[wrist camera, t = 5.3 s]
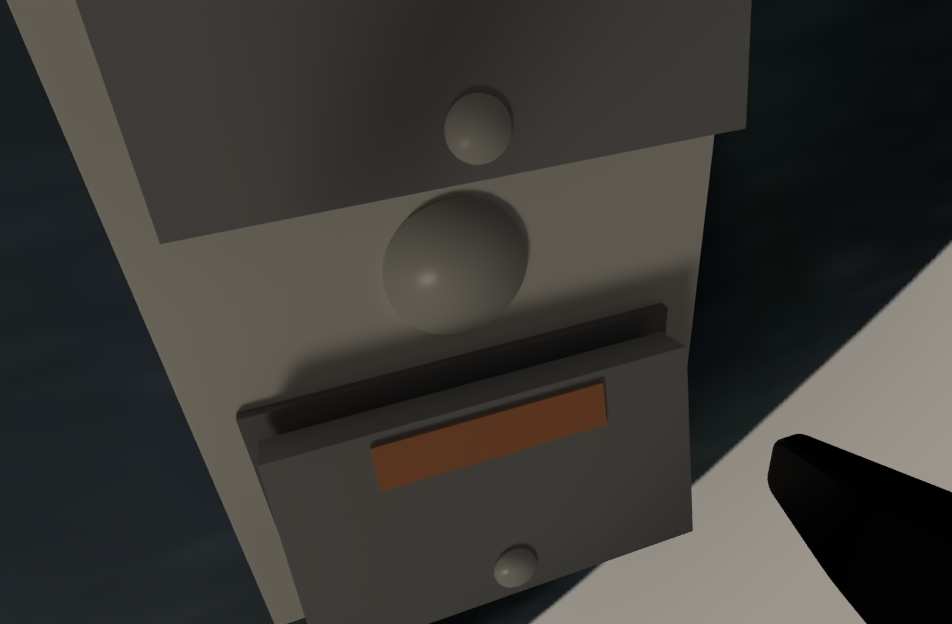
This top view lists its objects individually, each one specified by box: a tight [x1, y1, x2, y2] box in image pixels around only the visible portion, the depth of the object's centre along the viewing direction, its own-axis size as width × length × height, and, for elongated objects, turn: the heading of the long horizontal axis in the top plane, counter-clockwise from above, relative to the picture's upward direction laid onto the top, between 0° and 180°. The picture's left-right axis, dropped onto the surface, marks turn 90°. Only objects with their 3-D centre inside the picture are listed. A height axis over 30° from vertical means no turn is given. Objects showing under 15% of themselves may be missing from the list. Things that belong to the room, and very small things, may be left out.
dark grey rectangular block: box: [257, 332, 693, 624], centre depth 17 cm, size 6×11×1 cm, turn 95°
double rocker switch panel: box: [7, 0, 714, 624], centre depth 17 cm, size 30×14×3 cm, turn 5°
